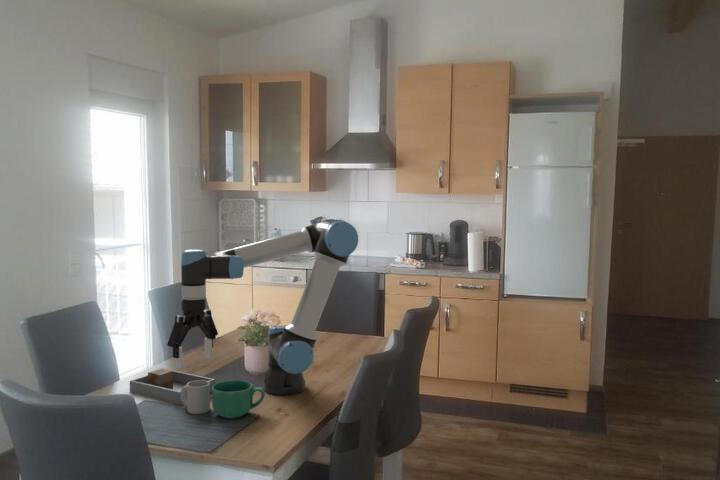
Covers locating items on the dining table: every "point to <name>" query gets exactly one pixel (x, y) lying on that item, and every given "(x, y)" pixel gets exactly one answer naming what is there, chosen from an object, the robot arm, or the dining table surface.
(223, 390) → the mug
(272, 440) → the dining table surface
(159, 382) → the walnut block
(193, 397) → the cup
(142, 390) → the gray tray
